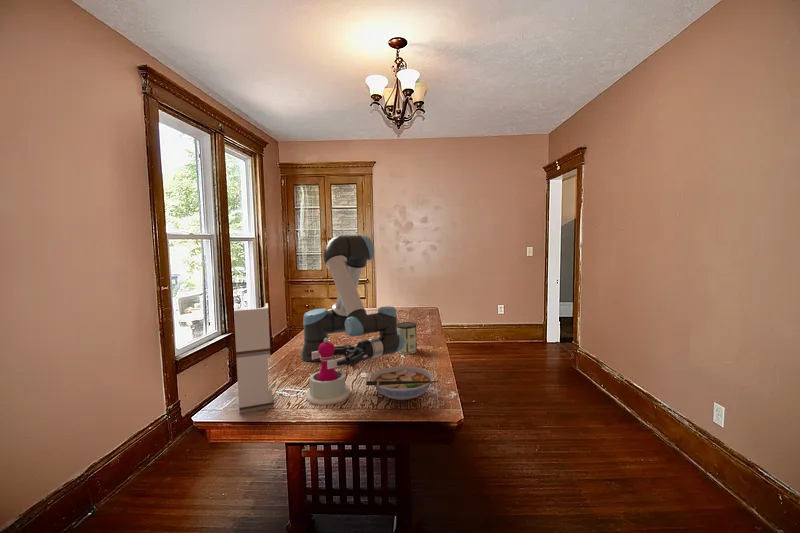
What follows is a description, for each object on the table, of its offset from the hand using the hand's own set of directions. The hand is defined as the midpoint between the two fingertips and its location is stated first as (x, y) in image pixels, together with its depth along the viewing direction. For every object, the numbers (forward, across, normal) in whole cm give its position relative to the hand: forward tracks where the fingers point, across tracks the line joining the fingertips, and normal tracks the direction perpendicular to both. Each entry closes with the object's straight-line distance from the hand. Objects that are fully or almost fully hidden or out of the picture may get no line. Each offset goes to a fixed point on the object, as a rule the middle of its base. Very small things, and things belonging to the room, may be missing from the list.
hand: (319, 360), depth 133 cm
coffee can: (-59, +24, -14) cm, 65 cm away
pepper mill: (-3, 0, -12) cm, 13 cm away
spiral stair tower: (+20, +10, -14) cm, 27 cm away
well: (-3, 0, -14) cm, 14 cm away
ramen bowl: (-24, -18, -14) cm, 33 cm away
